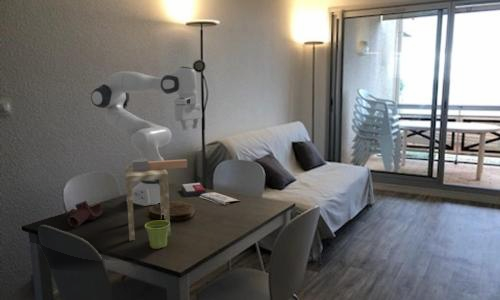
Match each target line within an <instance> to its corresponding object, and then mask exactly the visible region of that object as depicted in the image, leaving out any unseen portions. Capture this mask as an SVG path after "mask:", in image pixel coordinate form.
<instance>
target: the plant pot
mask: <svg viewBox="0 0 500 300" xmlns="http://www.w3.org/2000/svg"><path fill="white" fill-rule="evenodd" d="M169 225H170V226H171V221H170V222H168V221H165V220H161V219H160V220H152V221H148V222H146V223H145V224H144V228H145V229H146V232H147V235H148V241H149V246H150V247H151V248H152V249H154V250H155V249H156V250H157V249H161V248H165V247H166V246H167V245H168V237H169V236H168V228H169ZM167 236H168V237H167Z"/></svg>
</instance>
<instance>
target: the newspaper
mask: <svg viewBox="0 0 500 300" xmlns="http://www.w3.org/2000/svg"><path fill="white" fill-rule="evenodd" d="M199 198H200V199H201V198H202V199H205V200H208V201H211V202H212V203H215V204H218V205H224V206H226V205H231V204H230V203H231V202H239V201H241V200H239V199H238V198H237V199H236V198H234V197H230V196H228V195H225V194H221V193H218V192H215V191H214V192H206V193H205V194H201V196H199Z"/></svg>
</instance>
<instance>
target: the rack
mask: <svg viewBox="0 0 500 300" xmlns="http://www.w3.org/2000/svg"><path fill="white" fill-rule="evenodd" d="M167 170H168V169H156V170H149V171H138V172H133V164H131V165H130V164H129V165H125V184H126V185H125V186H126V200H127V201H126V203H127V205H126V206H127V218H128V219H127V220H128V221H127V222H128V234H129V235H128V237H129V242H130V241H131V242H132V240H133V241H135V240H136V238H135V237H136V236H135V221H134V220H135V218H134V203H133V199H132V189H133V184H132V182H141V181H142V180H155V179H159V183H160V204H159V205H160V220H161V219H162V215H164V219H165V221H168V222H170V223H171V214H170V212H171V210H170V196H169V195H170V191H169V190H170V189H169V188H170V187H169V173H168V171H167ZM168 237H171V224H170V225H169V228H168V236H167V238H168Z"/></svg>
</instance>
